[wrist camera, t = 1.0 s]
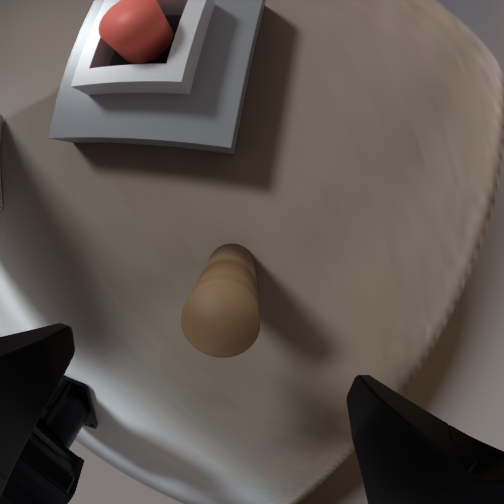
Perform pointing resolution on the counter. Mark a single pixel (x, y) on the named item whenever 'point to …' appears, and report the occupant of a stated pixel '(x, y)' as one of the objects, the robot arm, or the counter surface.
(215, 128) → the button box
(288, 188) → the counter surface
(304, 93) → the counter surface
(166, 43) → the plunger
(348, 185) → the counter surface
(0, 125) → the coffee box
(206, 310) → the tapered wooden peg
